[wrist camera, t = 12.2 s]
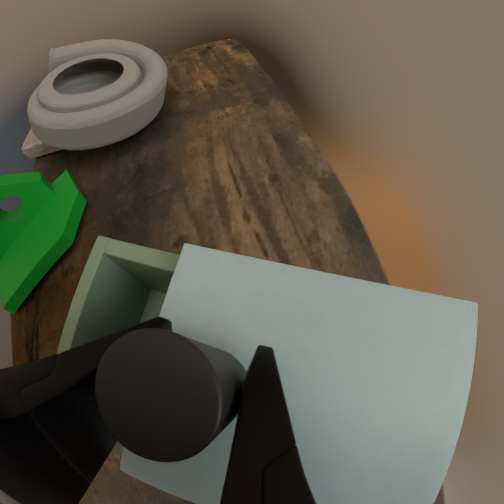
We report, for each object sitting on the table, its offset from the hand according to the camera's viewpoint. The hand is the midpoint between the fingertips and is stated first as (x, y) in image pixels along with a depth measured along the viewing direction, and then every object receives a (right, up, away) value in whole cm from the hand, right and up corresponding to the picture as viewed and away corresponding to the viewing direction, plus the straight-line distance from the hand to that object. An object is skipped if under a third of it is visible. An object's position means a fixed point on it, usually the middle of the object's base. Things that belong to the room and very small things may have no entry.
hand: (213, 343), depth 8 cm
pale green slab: (+3, -3, 0) cm, 4 cm away
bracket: (-18, +3, +13) cm, 22 cm away
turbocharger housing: (-8, +21, +17) cm, 29 cm away
